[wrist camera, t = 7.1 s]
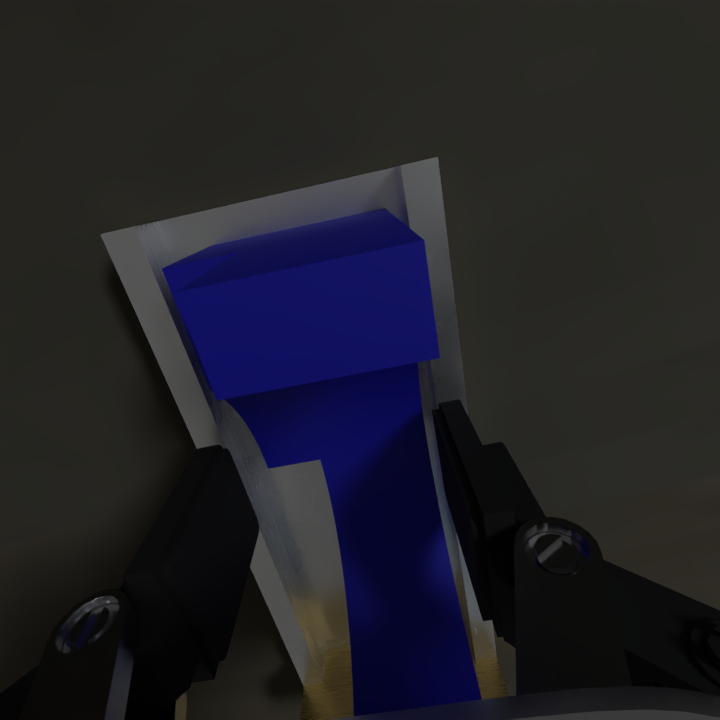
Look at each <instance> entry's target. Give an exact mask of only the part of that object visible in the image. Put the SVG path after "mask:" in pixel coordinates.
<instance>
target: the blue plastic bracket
mask: <svg viewBox="0 0 720 720" xmlns="http://www.w3.org/2000/svg"><path fill="white" fill-rule="evenodd" d="M162 271H163V273H164V276H165V278H166V281H167V283H168V286H169V288H170V291H171V293H172V296H173V298H174V301H175V303H176V306H177V308H178V311H179V313H180V316H181V318H182V321H183V324H184V326H185V329H186V331H187V334H188V336H189V339H190V341H191V344H192V346H193V349H194V351H195V354H196V356H197V359H198V361H199V364H200V366H201V369H202V371H203V374H204V376H205V379H206V381H207V384H208V387H209V389H210V391H212V392H214V395H215V397H216V400H217V401H218V400H223V399H224V400H225V401H226V402H227V403H229V404H230V405H231V406H232V407H233V408H234V409H235V411H236V412H237V413H238V414H239V415H240V416H241V418H242V419H243V421H244V422H245V423H246V425H247V426H248V428H249V430H250V431H251V433H252V435H253V436H254V438H255V440H256V442H257V444H258V446H259V448H260V450H261V453H262V455H263V457H264V460H265V462H266V465H267V467H268V469H270V468H276V467H281V466H287V465H293V464H298V463H304V462H309V461H315V460H321V464H322V467H323V471H324V475H325V479H326V483H327V487H328V491H329V495H330V500H331V505H332V510H333V514H334V520H335V525H336V531H337V536H338V542H339V549H340V555H341V562H342V569H343V577H344V585H345V594H346V603H347V613H348V623H349V635H350V648H351V664H352V682H353V708H354V716H361V715H368V714H376V713H384V712H391V711H399V710H406V709H414V708H421V707H429V706H436V705H444V704H451V703H459V702H467V701H474V700H482V697H481V693H480V689H479V685H478V681H477V676H476V672H475V668H474V664H473V660H472V656H471V651H470V647H469V643H468V638H467V634H466V630H465V626H464V621H463V617H462V612H461V608H460V604H459V599H458V595H457V590H456V586H455V581H454V576H453V572H452V567H451V562H450V558H449V553H448V548H447V544H446V539H445V534H444V529H443V524H442V519H441V514H440V509H439V504H438V499H437V494H436V488H435V483H434V477H433V472H432V466H431V461H430V455H429V449H428V443H427V437H426V430H425V424H424V417H423V410H422V402H421V394H420V385H419V373H418V362H422V361H427V360H433V359H438V358H440V353H439V346H438V338H437V331H436V324H435V316H434V309H433V301H432V294H431V286H430V279H429V271H428V264H427V256H426V249H425V241H424V239H422V238H421V237H420V236H419V235H417V234H416V233H415V232H414V231H412V230H411V229H410V228H409V227H408V226H406V225H405V224H404V223H403V222H401V221H400V220H399V219H398V218H396V217H395V216H394V215H393V214H391V213H390V212H389V211H388V210H387V209H385V208H383V209H378V210H374V211H369V212H365V213H360V214H355V215H351V216H346V217H341V218H337V219H332V220H327V221H323V222H318V223H314V224H309V225H304V226H300V227H295V228H290V229H286V230H281V231H276V232H272V233H267V234H263V235H258V236H253V237H249V238H244V239H239V240H235V241H230V242H225V243H221V244H216V245H212V246H209V247H207V248H205V249H203V250H201V251H198V252H196V253H194V254H192V255H190V256H188V257H185V258H183V259H181V260H179V261H177V262H175V263H173V264H170V265H168V266H166V267H164V268H162Z"/></svg>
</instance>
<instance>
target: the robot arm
mask: <svg viewBox="0 0 720 720" xmlns="http://www.w3.org/2000/svg"><path fill="white" fill-rule="evenodd" d="M432 414H433V421H434V427H435V433H436V440H437V446H438V452H439V458H440V465H441V471H442V477H443V484H444V489H445V494H446V498H447V502H448V505H449V509H450V512H451V516H452V519H453V522H454V526H455V529H456V533H457V536H458V539H459V543H460V546H461V549H462V553H463V556H464V560H465V563H466V566H467V570H468V573H469V576H470V580H471V583H472V587H473V590H474V593H475V597H476V600H477V603H478V607H479V610H480V614H481V617H482V620H483V621H489V620H492V621H493V625H494V628H495V631H496V634H497V637H502V636H503V638H504V641H506V642H507V643H509V644H510V645H512V646H513V647H515V648H516V696H508V697H499V698H490V699H482V700H474V701H467V702H459V703H451V704H444V705H436V706H429V707H421V708H414V709H406V710H399V711H391V712H384V713H376V714H368V715H361V716H353V717H346V718H339V719H331V720H720V611H719V610H717V609H715V608H712V607H710V606H708V605H706V604H703V603H701V602H699V601H696V600H694V599H692V598H690V597H687V596H685V595H683V594H680V593H678V592H676V591H673V590H671V589H669V588H667V587H664V586H662V585H660V584H657V583H655V582H653V581H651V580H648V579H646V578H644V577H641V576H639V575H637V574H634V573H632V572H630V571H628V570H625V569H623V568H621V567H618V566H616V565H614V564H612V563H609V562H607V561H605V560H603V557H602V553H601V550H600V548H599V546H598V543H597V541H596V540H595V539H594V538H593V537H592V535H591V534H590V533H589V532H588V531H586V530H585V529H583V528H582V527H581V526H579V525H578V524H575V523H573V522H570V521H568V520H566V519H561V518H555V517H546V516H545V515H544V513H543V511H542V509H541V508H540V506H539V504H538V502H537V501H536V499H535V497H534V496H533V494H532V492H531V490H530V489H529V487H528V485H527V483H526V482H525V480H524V478H523V476H522V475H521V473H520V471H519V469H518V468H517V466H516V464H515V463H514V461H513V459H512V457H511V456H510V454H509V452H508V450H507V449H506V447H505V445H504V444H503V443H501V442H499V443H493V444H488V445H482V443H481V441H480V439H479V437H478V435H477V433H476V431H475V429H474V427H473V425H472V423H471V421H470V419H469V417H468V415H467V413H466V411H465V409H464V407H463V405H462V403H461V401H460V399H457V400H452V401H446V402H441V403H439V409H433V410H432ZM258 535H259V522H258V519H257V516H256V514H255V511H254V509H253V507H252V504H251V502H250V499H249V497H248V494H247V492H246V489H245V487H244V485H243V482H242V480H241V477H240V475H239V472H238V470H237V468H236V465H235V463H234V460H233V458H232V455H231V453H230V451H229V450H228V449H227V448H225V449H223V447H222V446H221V445H213V446H208V447H202V448H198V449H197V450H196V452H195V453H194V455H193V457H192V458H191V460H190V462H189V464H188V465H187V467H186V469H185V471H184V472H183V474H182V476H181V477H180V479H179V481H178V483H177V484H176V486H175V488H174V490H173V491H172V493H171V495H170V496H169V498H168V500H167V502H166V503H165V505H164V507H163V509H162V510H161V512H160V514H159V516H158V517H157V519H156V521H155V522H154V524H153V526H152V528H151V529H150V531H149V533H148V535H147V536H146V538H145V540H144V541H143V543H142V545H141V547H140V548H139V550H138V552H137V554H136V555H135V557H134V559H133V560H132V562H131V564H130V566H129V567H128V569H127V571H126V573H125V574H124V578H125V580H124V582H123V584H122V586H121V587H120V589H119V590H118V589H107V590H104V591H101V592H98V593H96V594H94V595H92V596H90V597H88V598H86V599H84V600H83V601H82V602H80V603H79V604H77V605H76V606H75V607H73V608H72V609H71V610H70V611H69V612H68V613H67V614H66V615H65V616H64V617H63V618H62V619H61V621H60V622H59V623H58V624H57V626H56V627H55V628H54V630H53V632H52V634H51V636H50V638H49V640H48V642H47V645H46V648H45V650H44V653H43V656H42V658H41V661H40V664H39V665H38V666H36V667H35V668H34V669H32V670H31V671H30V672H28V673H27V674H26V675H24V676H23V677H22V678H20V679H19V680H18V681H16V682H15V683H14V684H12V685H11V686H10V687H9V688H7V689H6V690H5V691H3V692H2V693H1V694H0V720H186V709H187V694H186V691H187V690H188V689H189V688H190V686H191V683H192V682H199V681H205V680H212V679H214V678H215V675H216V671H217V667H218V664H219V661H223V660H224V659H225V657H226V655H227V652H228V648H229V644H230V640H231V637H232V633H233V629H234V625H235V621H236V618H237V614H238V610H239V606H240V603H241V599H242V595H243V591H244V587H245V584H246V580H247V576H248V572H249V569H250V565H251V561H252V557H253V553H254V550H255V546H256V542H257V538H258Z"/></svg>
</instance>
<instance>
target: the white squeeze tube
mask: <svg viewBox="0 0 720 720" xmlns="http://www.w3.org/2000/svg"><path fill="white" fill-rule="evenodd" d="M383 208H385V209H387V210H388V211H389V212H390V213H391V214H393V215H394V216H395V217H396V218H398V219H399V220H400V221H401V222H403V223H404V224H405V225H406V226H408V227H409V228H410V229H411V230H412V231H414V232H415V233H416V234H417V235H419V236H420V237H421V238H422V239H424V241H425V249H426V256H427V264H428V271H429V279H430V286H431V294H432V301H433V309H434V316H435V324H436V331H437V338H438V346H439V353H440V358H438V359H433V360H427V361H422V362H418V373H419V385H420V394H421V402H422V410H423V417H424V424H425V430H426V437H427V443H428V449H429V455H430V461H431V466H432V472H433V477H434V483H435V488H436V494H437V499H438V504H439V509H440V514H441V519H442V524H443V529H444V534H445V539H446V544H447V548H448V553H449V558H450V562H451V567H452V572H453V576H454V581H455V586H456V590H457V595H458V599H459V604H460V608H461V612H462V617H463V621H464V626H465V630H466V634H467V638H468V643H469V647H470V651H471V656H472V660H473V664H474V668H475V672H476V676H477V681H478V685H479V689H480V693H481V697H482V699H490V698H499V697H508V693H507V690H506V687H505V683H504V680H503V677H502V673H501V670H500V667H499V664H498V660H497V656H496V647H495V639H494V630H493V622H492V620H489V621H483V620H482V617H481V614H480V610H479V607H478V603H477V600H476V597H475V593H474V590H473V587H472V583H471V580H470V576H469V573H468V570H467V566H466V563H465V560H464V556H463V553H462V549H461V546H460V543H459V539H458V536H457V533H456V529H455V526H454V522H453V519H452V516H451V512H450V509H449V505H448V502H447V498H446V494H445V489H444V484H443V477H442V471H441V465H440V458H439V452H438V446H437V440H436V433H435V427H434V421H433V414H432V410H433V409H439V403H441V402H446V401H452V400H457V399H460V401H461V403H462V405H463V407H464V409H465V411H466V413H467V415H468V410H467V401H466V393H465V384H464V376H463V367H462V359H461V350H460V342H459V333H458V325H457V316H456V308H455V299H454V291H453V282H452V274H451V265H450V257H449V248H448V240H447V231H446V223H445V214H444V206H443V197H442V189H441V180H440V172H439V163H438V157H435V158H431V159H427V160H422V161H418V162H414V163H409V164H405V165H401V166H397V167H394V168H389V169H385V170H380V171H376V172H372V173H367V174H363V175H359V176H354V177H350V178H345V179H341V180H337V181H332V182H328V183H324V184H319V185H315V186H311V187H306V188H302V189H297V190H293V191H289V192H284V193H280V194H276V195H271V196H267V197H263V198H258V199H254V200H249V201H245V202H241V203H236V204H232V205H228V206H223V207H219V208H214V209H210V210H206V211H201V212H197V213H193V214H188V215H184V216H180V217H175V218H171V219H166V220H162V221H158V222H153V223H148V224H144V225H139V226H134V227H130V228H125V229H121V230H117V231H112V232H108V233H104V234H101V237H102V239H103V241H104V243H105V246H106V248H107V250H108V252H109V254H110V257H111V259H112V261H113V263H114V266H115V268H116V270H117V272H118V274H119V277H120V279H121V281H122V283H123V286H124V288H125V290H126V292H127V294H128V297H129V299H130V301H131V303H132V306H133V308H134V310H135V312H136V314H137V317H138V319H139V321H140V323H141V326H142V328H143V330H144V332H145V334H146V337H147V339H148V341H149V343H150V346H151V348H152V350H153V352H154V355H155V357H156V359H157V361H158V363H159V366H160V368H161V370H162V372H163V375H164V377H165V379H166V381H167V383H168V386H169V388H170V390H171V392H172V395H173V397H174V399H175V401H176V403H177V406H178V408H179V410H180V412H181V415H182V417H183V419H184V421H185V423H186V426H187V428H188V430H189V432H190V435H191V437H192V439H193V441H194V443H195V446H196V448H197V449H198V448H202V447H208V446H213V445H221V446H222V447H223V449H225V448H227V449H228V450H229V451H230V453H231V455H232V458H233V460H234V463H235V465H236V468H237V470H238V472H239V475H240V477H241V480H242V482H243V485H244V487H245V489H246V492H247V494H248V497H249V499H250V502H251V504H252V507H253V509H254V511H255V514H256V516H257V519H258V522H259V535H258V538H257V542H256V546H255V550H254V553H253V557H252V561H251V565H250V568H251V570H252V572H253V575H254V577H255V579H256V581H257V584H258V586H259V588H260V590H261V592H262V595H263V597H264V599H265V601H266V604H267V606H268V608H269V610H270V612H271V615H272V617H273V619H274V621H275V624H276V626H277V628H278V630H279V632H280V635H281V637H282V639H283V641H284V644H285V646H286V648H287V650H288V652H289V655H290V657H291V659H292V661H293V664H294V666H295V668H296V670H297V673H298V675H299V677H300V679H301V681H302V684H303V686H304V688H303V698H302V709H301V719H300V720H331V719H339V718H346V717H353V716H354V708H353V682H352V664H351V648H350V635H349V623H348V613H347V603H346V594H345V585H344V577H343V569H342V562H341V555H340V549H339V542H338V536H337V531H336V525H335V520H334V514H333V510H332V505H331V500H330V495H329V491H328V487H327V483H326V479H325V475H324V471H323V467H322V464H321V460H315V461H309V462H304V463H298V464H293V465H287V466H281V467H276V468H270V469H268V467H267V465H266V462H265V460H264V457H263V455H262V453H261V450H260V448H259V446H258V444H257V442H256V440H255V438H254V436H253V435H252V433H251V431H250V430H249V428H248V426H247V425H246V423H245V422H244V421H243V419H242V418H241V416H240V415H239V414H238V413H237V412H236V411H235V409H234V408H233V407H232V406H231V405H230V404H229V403H227V402H226V401H225V400H224V399H223V400H218V401H217V400H216V397H215V395H214V392H212V391H210V389H209V387H208V384H207V381H206V379H205V376H204V374H203V371H202V369H201V366H200V364H199V361H198V359H197V356H196V354H195V351H194V349H193V346H192V344H191V341H190V339H189V336H188V334H187V331H186V329H185V326H184V324H183V321H182V318H181V316H180V313H179V311H178V308H177V306H176V303H175V301H174V298H173V296H172V293H171V291H170V288H169V286H168V283H167V281H166V278H165V276H164V273H163V271H162V268H164V267H166V266H168V265H170V264H173V263H175V262H177V261H179V260H181V259H183V258H185V257H188V256H190V255H192V254H194V253H196V252H198V251H201V250H203V249H205V248H207V247H209V246H212V245H216V244H221V243H225V242H230V241H235V240H239V239H244V238H249V237H253V236H258V235H263V234H267V233H272V232H276V231H281V230H286V229H290V228H295V227H300V226H304V225H309V224H314V223H318V222H323V221H327V220H332V219H337V218H341V217H346V216H351V215H355V214H360V213H365V212H369V211H374V210H378V209H383Z"/></svg>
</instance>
